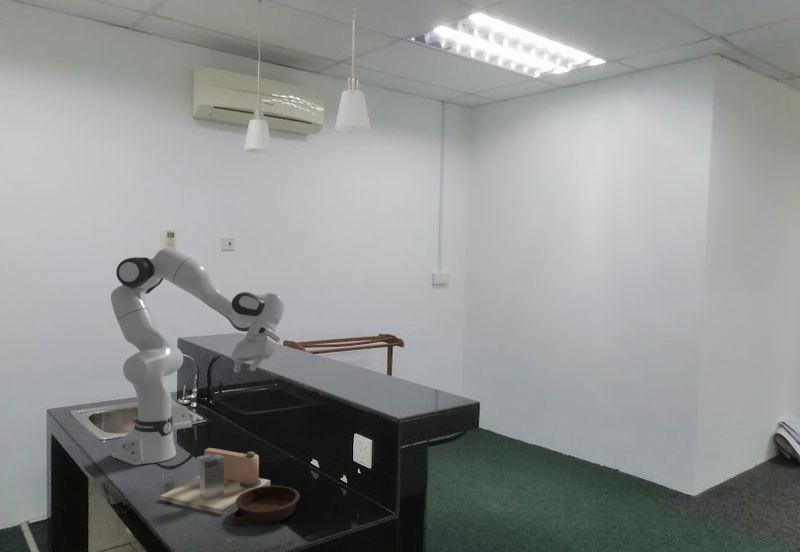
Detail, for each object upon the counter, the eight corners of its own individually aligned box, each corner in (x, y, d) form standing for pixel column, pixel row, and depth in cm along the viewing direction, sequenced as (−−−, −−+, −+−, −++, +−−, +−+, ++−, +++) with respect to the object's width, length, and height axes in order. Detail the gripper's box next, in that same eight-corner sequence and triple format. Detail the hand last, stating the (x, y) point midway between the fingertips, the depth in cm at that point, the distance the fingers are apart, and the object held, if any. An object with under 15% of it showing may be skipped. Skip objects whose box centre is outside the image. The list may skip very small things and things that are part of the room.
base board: (160, 500, 174) (160, 494, 174) (212, 473, 195) (212, 467, 195) (222, 514, 165) (222, 508, 165) (270, 484, 186) (270, 479, 186)
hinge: (151, 433, 235) (148, 408, 237) (148, 434, 239) (145, 410, 241) (193, 426, 245) (190, 402, 247) (189, 427, 249) (187, 404, 251)
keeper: (215, 489, 179) (215, 452, 178) (223, 494, 175) (223, 456, 175) (196, 495, 174) (196, 457, 174) (204, 500, 171) (204, 461, 170)
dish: (317, 510, 169) (318, 493, 169) (254, 538, 153) (254, 519, 152) (279, 493, 181) (279, 477, 180) (216, 518, 164) (216, 500, 164)
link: (261, 480, 185) (262, 451, 184) (252, 486, 180) (252, 456, 180) (212, 470, 192) (212, 442, 192) (201, 475, 187) (201, 447, 187)
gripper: (236, 334, 212) (220, 368, 205) (270, 328, 198) (253, 364, 191) (249, 342, 215) (234, 376, 208) (283, 337, 202) (268, 373, 195)
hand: (243, 370), depth 200 cm, fingers open, 8 cm apart
